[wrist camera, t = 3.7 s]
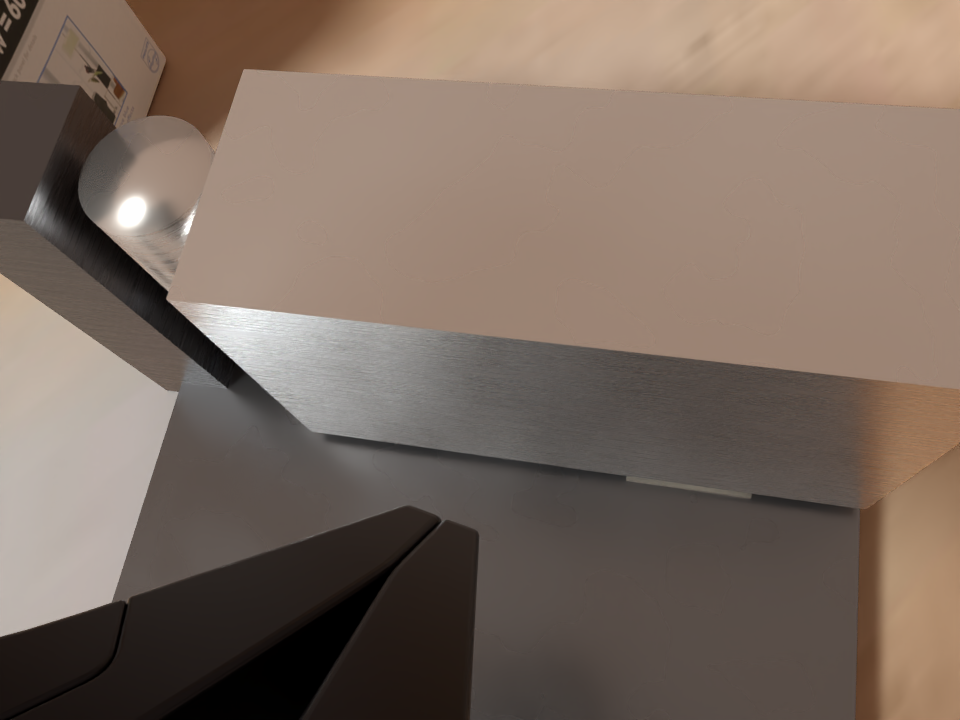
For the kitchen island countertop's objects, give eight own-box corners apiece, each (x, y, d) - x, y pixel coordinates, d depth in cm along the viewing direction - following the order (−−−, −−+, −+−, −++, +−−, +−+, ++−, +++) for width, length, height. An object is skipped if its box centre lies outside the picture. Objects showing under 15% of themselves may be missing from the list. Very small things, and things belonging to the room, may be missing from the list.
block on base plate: (830, 1212, 16) (1123, 1875, 7) (-20, 966, 20) (-555, 1198, 11) (854, 287, 23) (1021, 18, 14) (218, 227, 27) (18, -19, 18)
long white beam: (865, 509, 20) (1024, 396, 12) (219, 418, 23) (35, 284, 15) (869, 314, 21) (1011, 112, 14) (268, 254, 24) (124, 62, 17)
